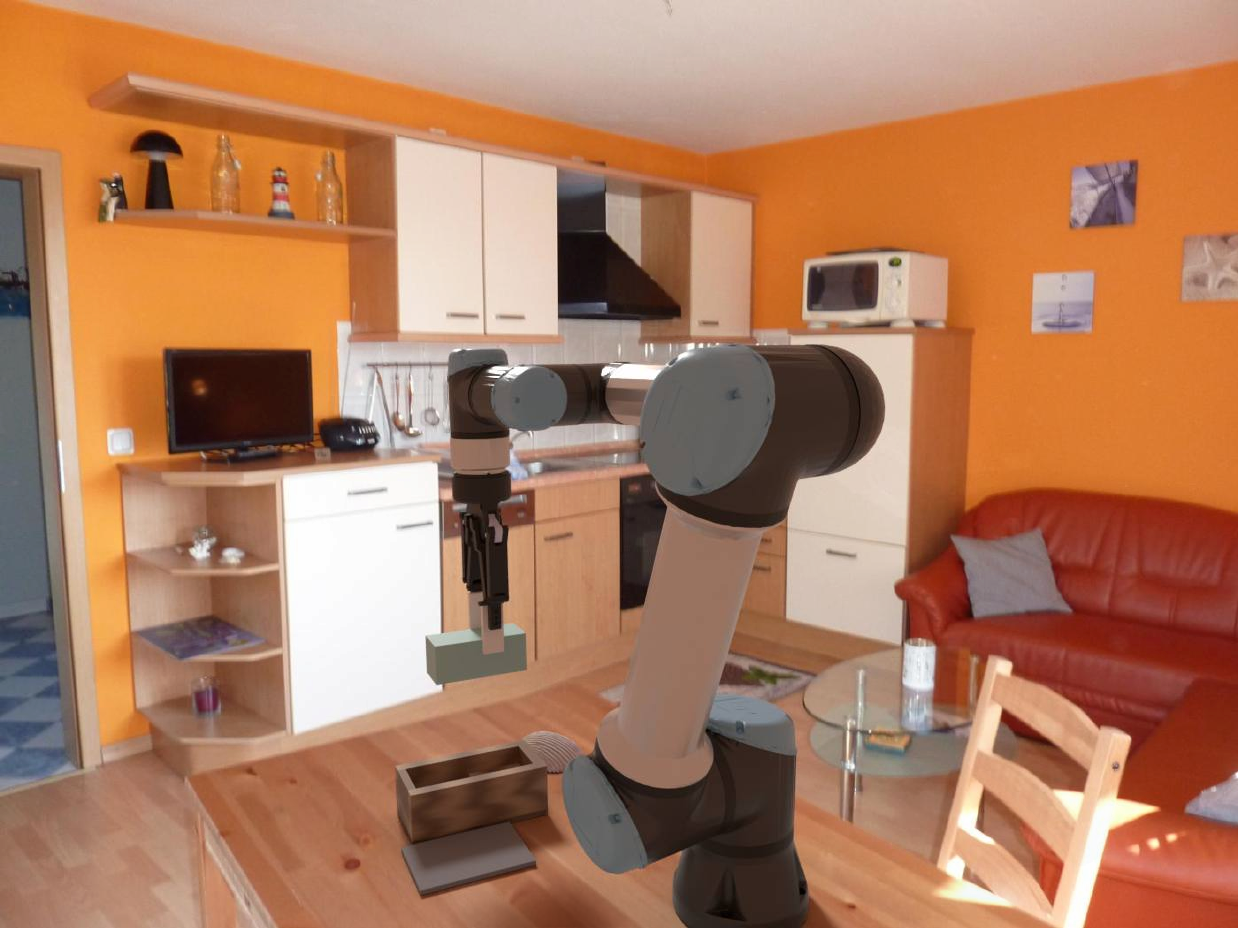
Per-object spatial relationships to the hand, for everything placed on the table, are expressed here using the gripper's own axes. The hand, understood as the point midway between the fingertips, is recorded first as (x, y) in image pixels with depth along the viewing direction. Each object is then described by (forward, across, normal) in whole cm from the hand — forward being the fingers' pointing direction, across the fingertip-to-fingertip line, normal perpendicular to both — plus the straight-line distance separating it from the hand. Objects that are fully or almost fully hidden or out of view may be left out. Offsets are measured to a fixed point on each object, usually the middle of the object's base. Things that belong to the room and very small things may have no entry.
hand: (486, 645), depth 121 cm
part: (+3, 0, +1) cm, 4 cm away
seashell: (+24, +12, -13) cm, 29 cm away
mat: (+23, -10, +6) cm, 26 cm away
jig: (+23, 0, +2) cm, 23 cm away
